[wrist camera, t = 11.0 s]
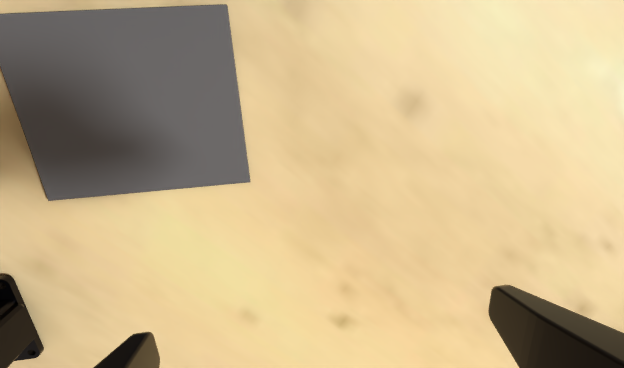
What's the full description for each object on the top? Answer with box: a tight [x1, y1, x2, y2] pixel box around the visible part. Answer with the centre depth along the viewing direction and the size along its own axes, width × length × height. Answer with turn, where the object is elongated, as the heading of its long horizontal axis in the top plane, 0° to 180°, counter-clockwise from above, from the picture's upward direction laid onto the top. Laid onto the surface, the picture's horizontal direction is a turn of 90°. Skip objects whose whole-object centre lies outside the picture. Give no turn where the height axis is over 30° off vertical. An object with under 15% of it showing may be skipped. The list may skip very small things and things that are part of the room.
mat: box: [0, 4, 250, 201], centre depth 18 cm, size 12×10×1 cm
